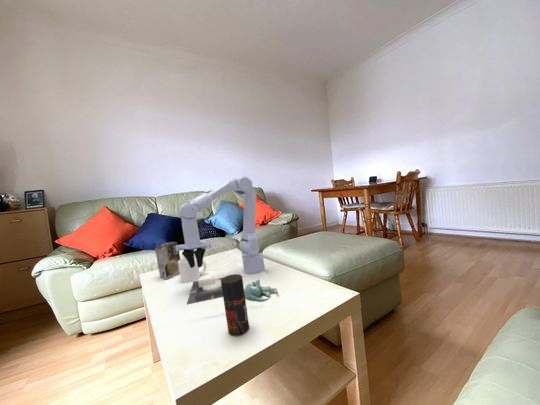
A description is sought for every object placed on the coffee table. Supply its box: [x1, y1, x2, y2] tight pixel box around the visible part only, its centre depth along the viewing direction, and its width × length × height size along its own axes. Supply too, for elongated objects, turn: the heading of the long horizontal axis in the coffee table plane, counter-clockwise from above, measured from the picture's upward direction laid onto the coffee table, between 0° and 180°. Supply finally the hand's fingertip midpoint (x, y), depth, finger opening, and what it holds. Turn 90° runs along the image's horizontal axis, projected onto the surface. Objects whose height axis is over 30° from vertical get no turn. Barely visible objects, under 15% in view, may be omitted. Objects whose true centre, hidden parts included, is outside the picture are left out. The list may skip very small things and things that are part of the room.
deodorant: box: [221, 274, 250, 337], centre depth 67 cm, size 6×6×15 cm
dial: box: [192, 277, 222, 292], centre depth 94 cm, size 11×8×4 cm
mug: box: [178, 255, 207, 284], centre depth 109 cm, size 12×8×10 cm
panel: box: [186, 276, 225, 306], centre depth 94 cm, size 18×18×3 cm
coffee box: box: [154, 241, 182, 281], centre depth 119 cm, size 9×6×16 cm
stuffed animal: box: [244, 279, 279, 302], centre depth 84 cm, size 11×7×12 cm
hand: (196, 266), depth 95 cm, fingers open, 3 cm apart
